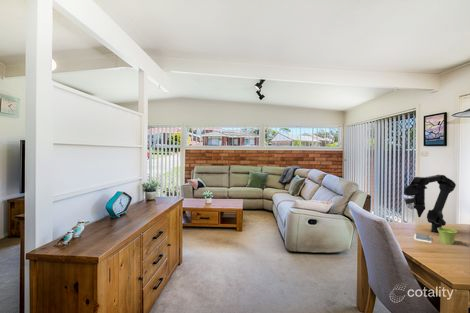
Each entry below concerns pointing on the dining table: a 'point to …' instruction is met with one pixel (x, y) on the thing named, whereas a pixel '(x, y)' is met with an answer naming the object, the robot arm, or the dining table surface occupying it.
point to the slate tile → (422, 237)
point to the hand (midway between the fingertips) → (419, 217)
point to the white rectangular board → (422, 240)
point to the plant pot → (446, 235)
